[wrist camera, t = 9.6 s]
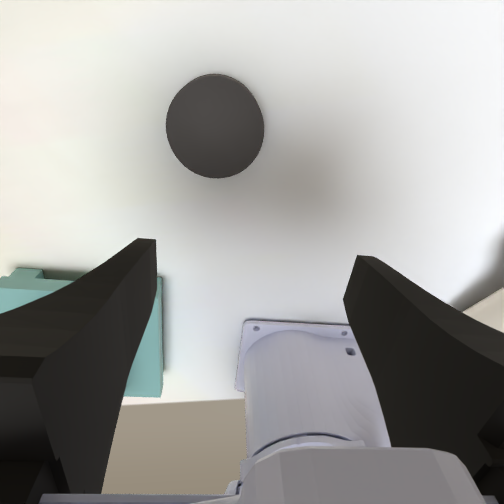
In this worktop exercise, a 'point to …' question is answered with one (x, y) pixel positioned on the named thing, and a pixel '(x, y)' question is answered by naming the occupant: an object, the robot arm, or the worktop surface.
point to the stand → (150, 349)
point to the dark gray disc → (215, 126)
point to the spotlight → (489, 310)
